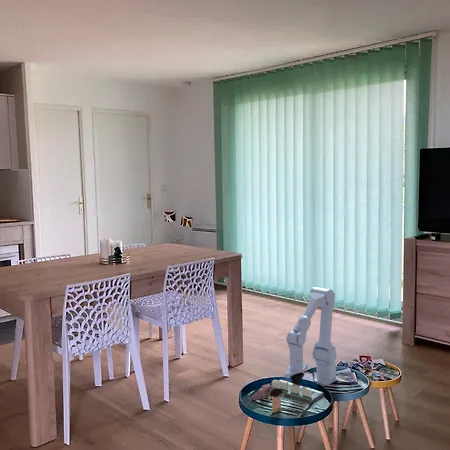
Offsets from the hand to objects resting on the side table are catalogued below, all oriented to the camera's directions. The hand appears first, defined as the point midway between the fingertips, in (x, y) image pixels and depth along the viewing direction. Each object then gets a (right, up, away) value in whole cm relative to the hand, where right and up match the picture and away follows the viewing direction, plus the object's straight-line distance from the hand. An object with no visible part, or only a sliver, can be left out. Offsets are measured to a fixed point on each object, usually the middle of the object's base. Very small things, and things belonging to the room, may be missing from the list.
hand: (296, 389), depth 222 cm
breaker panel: (+1, -3, +1) cm, 3 cm away
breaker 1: (-5, -1, +3) cm, 6 cm away
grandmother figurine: (-11, -4, -14) cm, 18 cm away
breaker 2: (+4, -1, -5) cm, 6 cm away
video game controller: (-15, -3, -2) cm, 15 cm away
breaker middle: (-1, -1, -1) cm, 2 cm away
